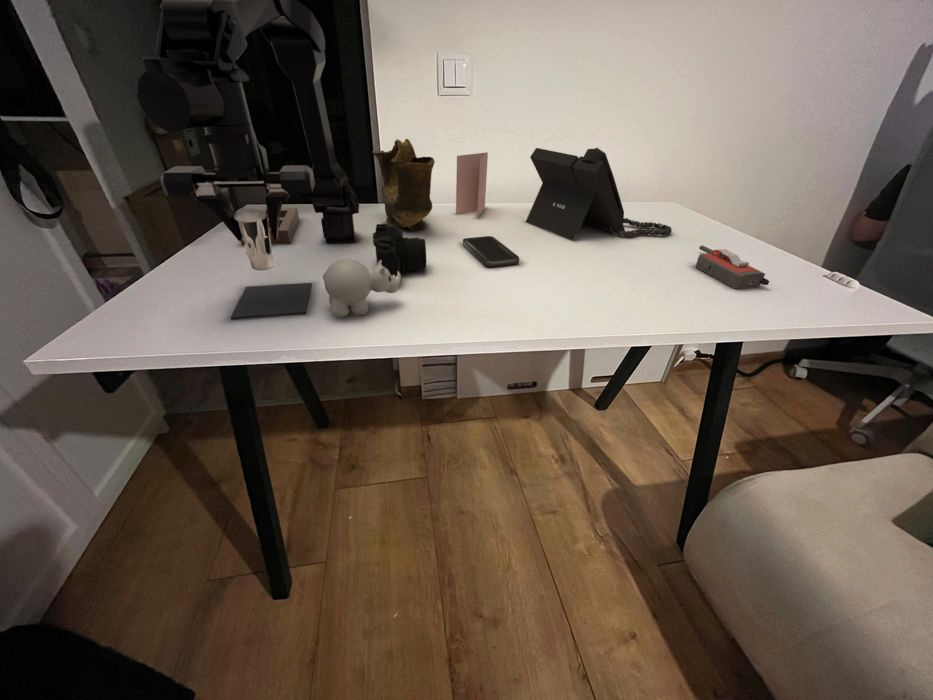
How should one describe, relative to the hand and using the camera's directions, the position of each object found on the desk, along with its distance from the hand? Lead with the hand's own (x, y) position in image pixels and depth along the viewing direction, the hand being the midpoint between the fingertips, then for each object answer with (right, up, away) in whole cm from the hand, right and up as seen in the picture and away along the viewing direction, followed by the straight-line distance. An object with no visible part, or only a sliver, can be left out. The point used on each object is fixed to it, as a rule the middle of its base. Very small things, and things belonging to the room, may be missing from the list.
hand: (258, 239), depth 62 cm
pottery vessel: (+17, +15, +42) cm, 47 cm away
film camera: (+19, -2, +17) cm, 26 cm away
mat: (0, -9, +6) cm, 10 cm away
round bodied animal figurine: (+15, -10, +5) cm, 19 cm away
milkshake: (0, -4, +3) cm, 5 cm away
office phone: (+67, +16, +46) cm, 83 cm away
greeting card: (+35, +22, +53) cm, 67 cm away
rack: (-14, +11, +34) cm, 39 cm away
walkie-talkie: (+85, 0, +24) cm, 89 cm away
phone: (+37, +4, +27) cm, 46 cm away
